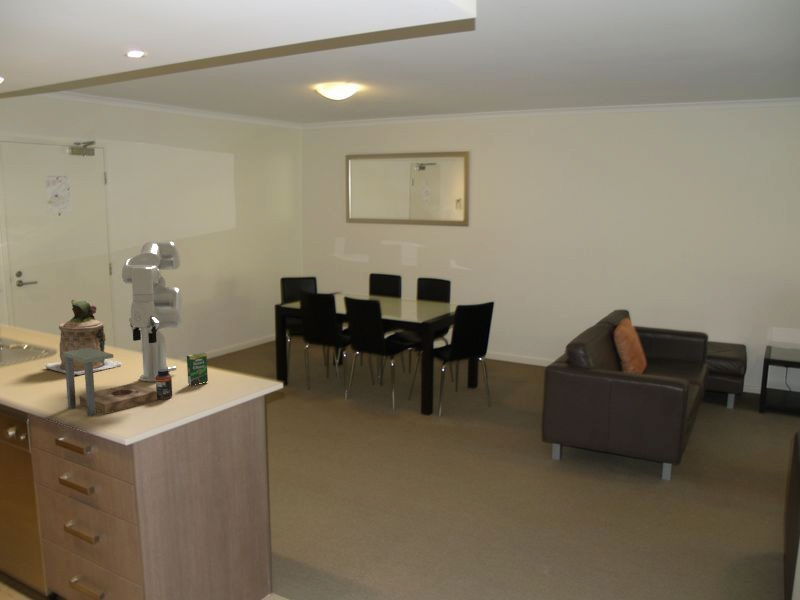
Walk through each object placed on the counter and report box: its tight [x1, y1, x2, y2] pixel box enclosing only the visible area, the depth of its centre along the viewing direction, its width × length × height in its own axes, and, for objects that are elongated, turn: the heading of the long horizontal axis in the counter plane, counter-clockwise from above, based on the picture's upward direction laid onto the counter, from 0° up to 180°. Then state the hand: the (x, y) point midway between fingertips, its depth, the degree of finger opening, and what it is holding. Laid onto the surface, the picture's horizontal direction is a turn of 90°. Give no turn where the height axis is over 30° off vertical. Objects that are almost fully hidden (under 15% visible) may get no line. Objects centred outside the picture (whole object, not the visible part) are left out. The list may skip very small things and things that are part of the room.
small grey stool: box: [62, 348, 114, 417], centre depth 237 cm, size 10×17×21 cm, turn 53°
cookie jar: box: [44, 298, 122, 376], centre depth 297 cm, size 25×25×32 cm
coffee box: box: [186, 352, 209, 386], centre depth 273 cm, size 8×3×13 cm, turn 133°
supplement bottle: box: [155, 369, 173, 400], centre depth 254 cm, size 6×6×11 cm
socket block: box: [79, 383, 158, 414], centre depth 247 cm, size 21×18×4 cm
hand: (144, 341), depth 254 cm, fingers open, 9 cm apart
